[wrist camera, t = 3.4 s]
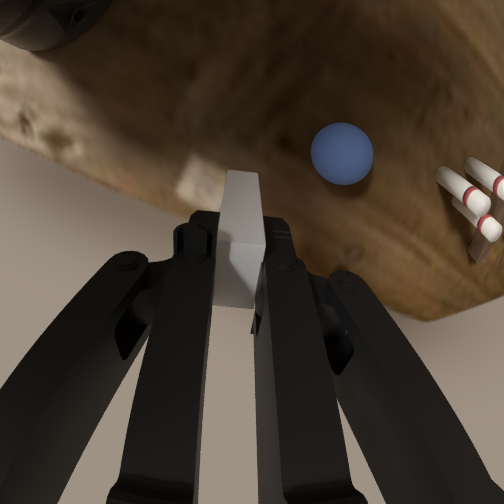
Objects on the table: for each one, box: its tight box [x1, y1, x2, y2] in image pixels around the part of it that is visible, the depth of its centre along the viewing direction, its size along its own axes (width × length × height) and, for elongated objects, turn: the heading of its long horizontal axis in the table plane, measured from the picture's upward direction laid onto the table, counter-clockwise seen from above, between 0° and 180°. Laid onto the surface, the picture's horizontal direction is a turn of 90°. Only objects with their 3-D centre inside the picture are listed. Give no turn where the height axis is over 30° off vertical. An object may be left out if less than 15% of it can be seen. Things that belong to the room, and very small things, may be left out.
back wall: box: [467, 161, 504, 263], centre depth 30 cm, size 2×20×3 cm, turn 172°
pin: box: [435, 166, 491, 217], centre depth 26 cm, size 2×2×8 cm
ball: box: [311, 123, 374, 185], centre depth 26 cm, size 6×6×6 cm
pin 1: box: [464, 157, 504, 200], centre depth 25 cm, size 2×2×8 cm
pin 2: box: [451, 195, 502, 242], centre depth 28 cm, size 2×2×8 cm
